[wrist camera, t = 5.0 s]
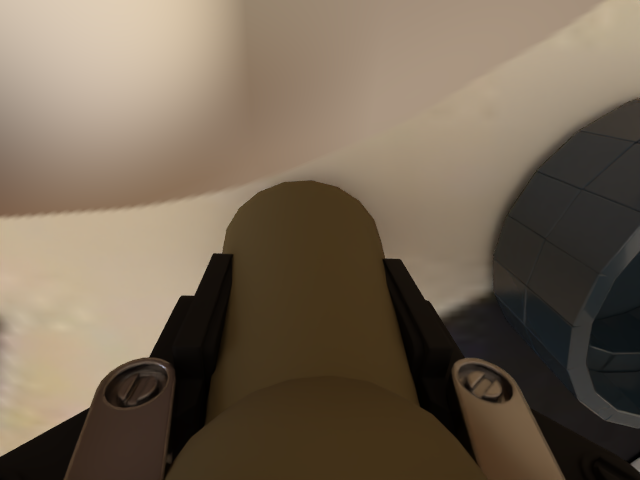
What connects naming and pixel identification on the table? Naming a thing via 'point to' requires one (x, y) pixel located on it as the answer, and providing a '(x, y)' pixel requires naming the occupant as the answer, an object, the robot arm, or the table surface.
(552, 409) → the table surface
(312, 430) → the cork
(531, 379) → the table surface
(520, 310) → the bowl
